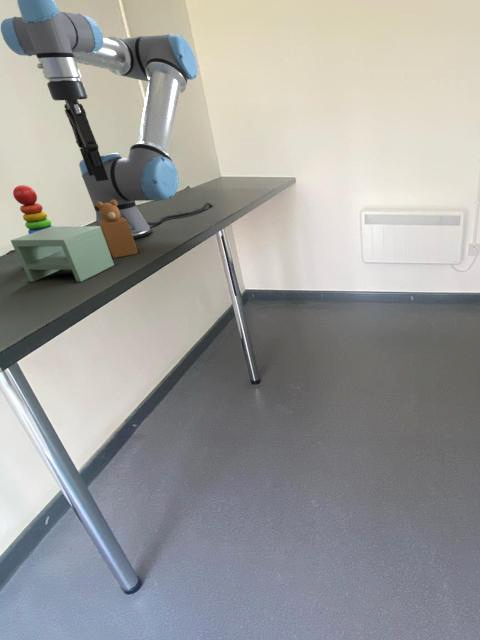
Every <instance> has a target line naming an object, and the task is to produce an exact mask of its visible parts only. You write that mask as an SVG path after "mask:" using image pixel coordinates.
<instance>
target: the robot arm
mask: <svg viewBox="0 0 480 640" xmlns="http://www.w3.org/2000/svg"><path fill="white" fill-rule="evenodd" d="M16 1H17V6H18V9H19V12H20V16H13V17H8V18H5V19H3V20H2V21H1V23H0V32H1V35H2V39H3V40H4V43H5V44H6V45H7V47H8V48H9V49H10V50H11V51H12V52H13V53H15V54H17V55H18V56H25V57H26V56H27V57H32V56H36V58H37V61H38V62H39V63H36V66H37V69H40V70H42V74H43V76H44V79H46V80H48V82H47V83H46V85H47V88H48V91H49V94H50V96H51V98H52V100H54V101H57V102H58V101H64V102H65V104H64V106H63V107H64V113H65V115H66V117H67V118H68V119H67V120H68V122H69V125H70V126H71V129H72V133H73V135H74V139H75V143H76V144H77V146H78V147H79V151H80V154H81V157H82V159H81V160H79V161H80V162H79V163H78V164H79V169H80V173H81V178H82V180H83V182H84V185H85V188H86V190H87V194H88V196H89V198H90V200H91V203H92V205H93V209H94V212H95V218H96V219H95V220H96V226H100V224H99V221H104V220H105V219H103V218H102V217H101V215H100V212H99V208H97V206H96V203H97V202H102V203H103V204H104V203H110V201H111V200H116V201H117V203H118V205H117V208H118V209H119V211H120V217H119V218H125V219H126V220H127V222H128V225H129V228H130V231H131V234H132V236H133V239H134V240H135V239H139V238H142V237H146V236H148V235H150V234H151V232H152V230H151V228H150V226H155V225H159V224H160V223H162V222H163V221H164V220H167V219H173V218H180V217H186V216H190V215H194V214H196V213H199V212H201V211H203V210H205V209H206V208H207V207H213V205H212V204H211V203H210V202H205V203H204V205H203V206H201V207H199V208H196V209H194V210H191V211H187V212H182V213H175V214H170V215H169V214H168V215H165V216H163V217H160V218H158V220H156V221H146V219H145V218H144V216H143V214H142V213H141V212H140V210H139V209H138V207H137V204H136V201H137V202H138V201H139V202H140V201H141V202H142V201H144V202H145V201H149V202H150V201H152V202H160V201H166V200H170V199H172V198H173V197H174V196H175V195H176V193H177V192H178V189H179V184H180V183H179V182H180V180H179V177H178V175H179V172H178V169H177V167H176V165H175V164H174V161H173V158H172V157H171V156H170V150H171V144H172V139H173V134H174V133H173V132H174V129H175V128H174V127H175V121H176V115H177V110H178V104H179V99H180V94H182V93H184V92H185V91H186V89H187V85H188V80H190V81H192V80H194V79H196V78H197V76H198V64H197V60H196V57H195V54H194V51H193V49H192V47H191V45H190V43H189V42H188V40H187V39H186V38H185V37H184V36H182V35H181V34H177V33H175V34H174V33H167V34H157V35H143V36H141V35H139V36H132V37H115V36H108V37H106V38H104V34H103V32H102V29H101V27H100V25H99V24H98V23H97V22H96V20H95V19H93V18H92V17H90V16H87V15H84V14H81V13H75V12H65V11H60V8H59V7H58V6H57V2H56V1H55V0H16ZM78 64H81V65H85V66H91V67H96V68H100V69H106V70H108V71H109V72H110V73H112V74H114V75H117V76H120V77H121V76H122V77H125V78H129V79H134V80H139V81H144V82H148V85H147V91H146V95H145V96H146V97H145V100H144V107H143V111H142V116H141V123H140V127H139V131H138V132H139V133H138V138H137V143H134V144H132V145H131V146H130V148H129V153H128V157H127V158H125V157H122V156H121V154H120V153H118V152H115V153H109V154H103V155H101V154H100V151H99V144H98V143H97V141H96V138H95V135H94V133H93V131H92V128H91V125H90V123H89V119H88V117H87V112H86V110H85V108H84V106H83V104H82V103H79V101H78V100H87V99H88V93H87V90H86V87H85V84H84V82H83V81H82V80H80V79H81V78H82V75H81V72H80V69H79V66H78ZM100 228H101V227H100ZM101 230H102V229H101ZM102 233H103V232H102ZM103 236H104V235H103ZM220 239H221V242H222V247H223V251H224V254H225V259H226V263H227V268H228V272H229V276H230V281H231V286H232V289H233V293H234V296H235V297H237V296H238V294H237V289H236V286H235V285H236V284H235V280H234V276H233V272H232V268H231V263H230V259H229V255H228V250H227V246H226V241H225V238H224V235H221V236H220ZM105 241H106V240H105Z"/></svg>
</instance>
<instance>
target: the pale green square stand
mask: <svg viewBox="0 0 480 640" xmlns="http://www.w3.org/2000/svg"><path fill="white" fill-rule="evenodd" d="M10 242H11V244H12V246H13V250H14V251H15V253H16V255H17V257H18V260H19V262H20V265H21V266H22V268H23V270H24V272H25V274H26V276H27V278H28V280H29V282H36V281H38V280H41V279H43V278H45V277H47V276H50V275H52V274H54V273H57V272H59V271H61V270H62V271H63V270H64V271H66V270H67V271H68V270H70V271H72V274H73V276H74V279H75V282H77V283H82V282H84V281H86V280H88V279H89V278H91V277H93V276H96V275H97V274H100V273H101V272H104V271H106V270H108V269H109V268H112V267H114V266H115V263H114V261H113V257H112V255H111V254H110V251H109V248H108V246H107V243H106V241H105V238H104V236H103V233H102V230H101V228H100V226H97V225H91V226H89V225H87V226H85V225H83V226H82V225H81V226H79V225H78V226H76V225H75V226H54V227H49V228H46V229H43V230H40V231H37V232H34V233H31V234H29V233H28V234H25V235H22V236H19V237H16V238H14V239H10Z"/></svg>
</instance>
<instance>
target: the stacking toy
mask: <svg viewBox="0 0 480 640" xmlns="http://www.w3.org/2000/svg"><path fill="white" fill-rule="evenodd" d="M12 194H13V195H12V196H13V198H14V199H15V201H16V202H17V203H18V204H20V207H19V210H20V212H21V213H22V214H23V215H22V219H23V220H24V222H25V224H24V225H25V227H26V229H28V231H27V233H28V234H31V233H34V232H37V231H40V230H43V229H46V228H49V227H55V226H54V225H52V221H51V220H50V219H49V218H47V217H48V214H47V213H46V211H43V208H44V207H43V206H42V204H40V203H38V202H37V200H38V195H37V193H36V191H35V190H34V189H33V188H32V187H31V186H28V185H24V184H21V185H20V184H19V185H17V186H16V187H14V188H13V192H12Z"/></svg>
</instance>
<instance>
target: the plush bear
mask: <svg viewBox="0 0 480 640" xmlns="http://www.w3.org/2000/svg"><path fill="white" fill-rule="evenodd" d="M117 205H118V203H117V201H116V200H111V201H110V203H104V204H103V203H102V202H97V203H96V206H97V208H99V212H100V215H101V217H102V218H103V219H105V220H104V221H99V224H100V227H101V229H102V232H103V235H104V238H105V240H106V244H107V247H108V249H109V252H110V255H111V257H112V259H116V258H121V257H122V258H123V257H126V256H133V255H137V254H139V252H138V248H137V246H136V243H135V239H133V236H132V234H131V231H130V228H129V225H128V222H127V220H126V219H125V218H119V217H120V211H119V209H118V208H117Z"/></svg>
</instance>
